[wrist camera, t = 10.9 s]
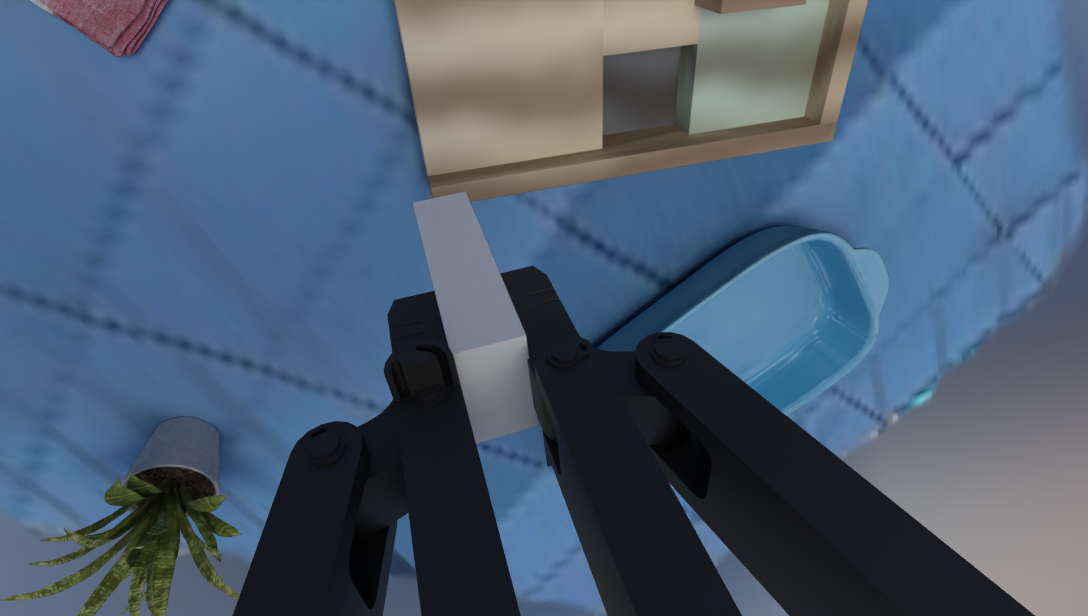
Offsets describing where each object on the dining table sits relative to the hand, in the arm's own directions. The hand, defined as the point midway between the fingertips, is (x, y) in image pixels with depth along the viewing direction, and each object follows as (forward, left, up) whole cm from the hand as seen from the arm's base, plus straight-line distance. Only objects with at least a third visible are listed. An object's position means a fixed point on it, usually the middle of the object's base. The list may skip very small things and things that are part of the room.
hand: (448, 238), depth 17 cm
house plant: (+29, -25, -27) cm, 48 cm away
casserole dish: (+33, +25, -28) cm, 50 cm away
